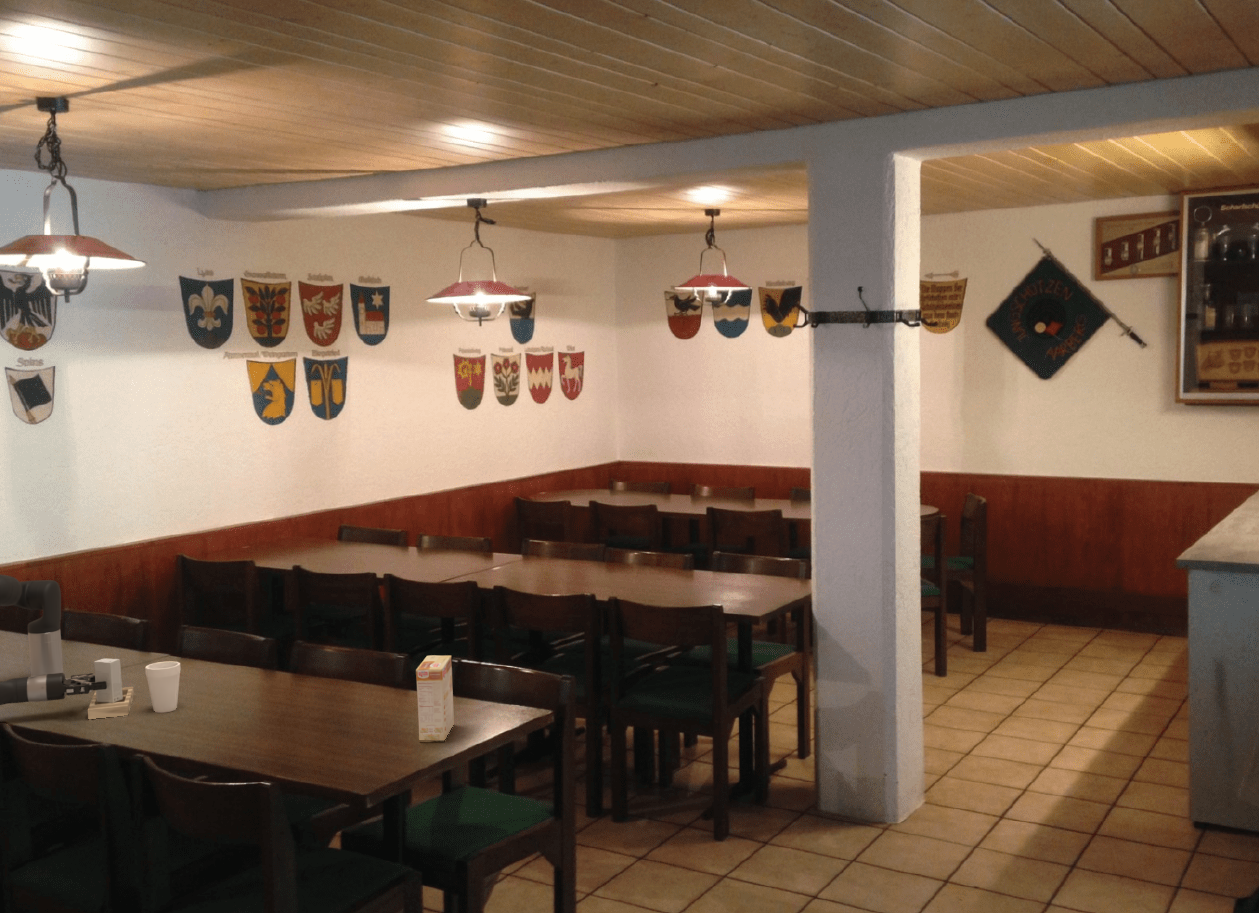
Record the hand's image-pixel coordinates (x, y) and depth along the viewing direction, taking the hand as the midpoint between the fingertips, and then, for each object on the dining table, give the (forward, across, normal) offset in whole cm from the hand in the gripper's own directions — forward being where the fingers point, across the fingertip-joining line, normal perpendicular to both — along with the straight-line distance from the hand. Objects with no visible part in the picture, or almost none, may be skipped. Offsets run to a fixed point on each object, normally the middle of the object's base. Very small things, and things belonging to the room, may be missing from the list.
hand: (108, 681), depth 349 cm
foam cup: (+15, -5, +9) cm, 18 cm away
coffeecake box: (+85, -61, +9) cm, 105 cm away
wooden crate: (0, +3, +9) cm, 9 cm away
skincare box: (0, 0, +6) cm, 6 cm away
